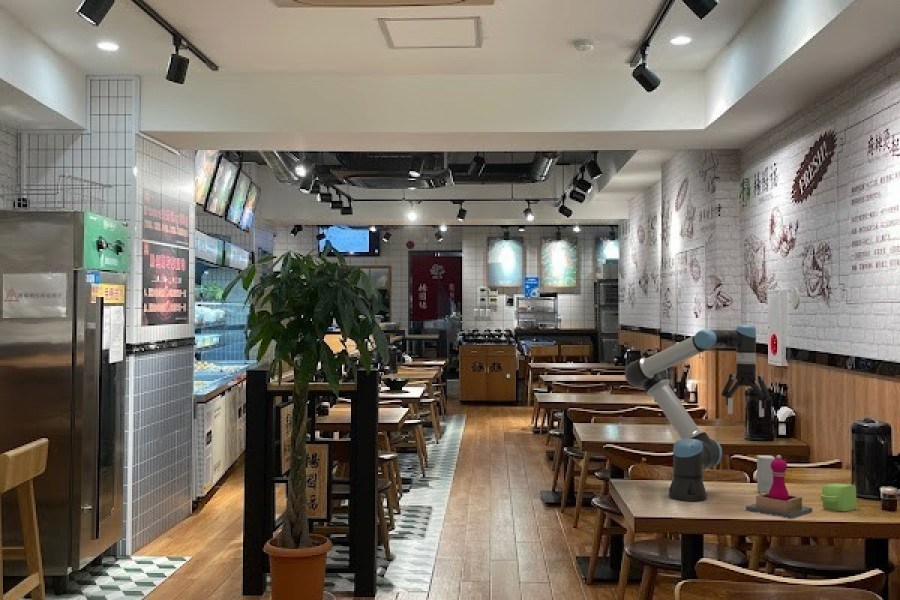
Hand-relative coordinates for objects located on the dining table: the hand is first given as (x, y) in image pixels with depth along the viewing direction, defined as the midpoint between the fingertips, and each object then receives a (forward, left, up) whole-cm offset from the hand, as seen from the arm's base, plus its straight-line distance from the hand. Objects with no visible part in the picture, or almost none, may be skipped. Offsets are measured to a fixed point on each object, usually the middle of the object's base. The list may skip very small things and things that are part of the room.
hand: (745, 415), depth 345 cm
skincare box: (-2, +22, -35) cm, 41 cm away
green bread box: (+31, +16, -35) cm, 49 cm away
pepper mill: (+18, -8, -33) cm, 39 cm away
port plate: (+18, -8, -35) cm, 40 cm away
